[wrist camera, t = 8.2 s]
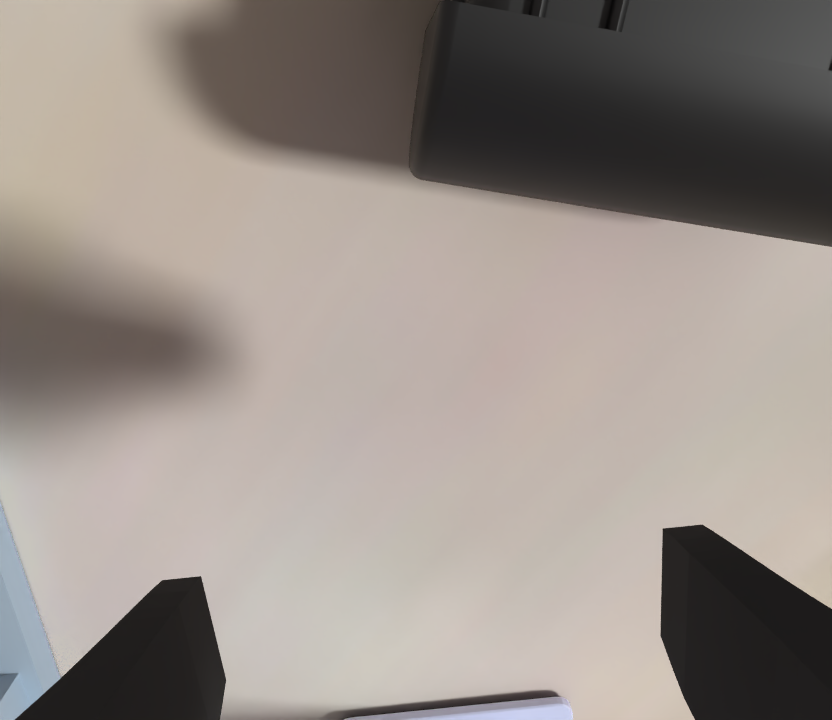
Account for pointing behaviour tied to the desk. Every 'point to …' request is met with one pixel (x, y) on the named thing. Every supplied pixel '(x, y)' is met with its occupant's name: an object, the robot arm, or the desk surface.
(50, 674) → the display stand
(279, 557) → the desk surface
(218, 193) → the desk surface
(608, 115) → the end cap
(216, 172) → the desk surface
